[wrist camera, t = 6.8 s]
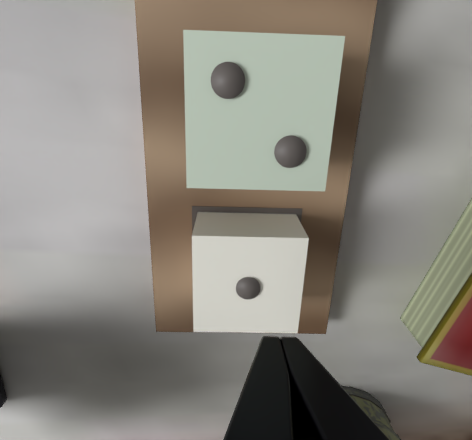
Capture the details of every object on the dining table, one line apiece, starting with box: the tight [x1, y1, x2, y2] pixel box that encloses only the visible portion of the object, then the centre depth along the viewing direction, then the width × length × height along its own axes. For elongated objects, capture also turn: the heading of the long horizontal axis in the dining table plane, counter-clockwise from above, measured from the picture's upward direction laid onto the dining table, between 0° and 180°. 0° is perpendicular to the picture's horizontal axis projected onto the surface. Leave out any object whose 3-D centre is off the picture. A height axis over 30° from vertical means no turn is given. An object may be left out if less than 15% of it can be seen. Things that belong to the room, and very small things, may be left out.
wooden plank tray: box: [135, 0, 377, 334], centre depth 16 cm, size 25×10×2 cm, turn 178°
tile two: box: [183, 30, 345, 191], centre depth 13 cm, size 5×5×3 cm
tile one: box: [192, 212, 309, 333], centre depth 17 cm, size 5×5×3 cm
